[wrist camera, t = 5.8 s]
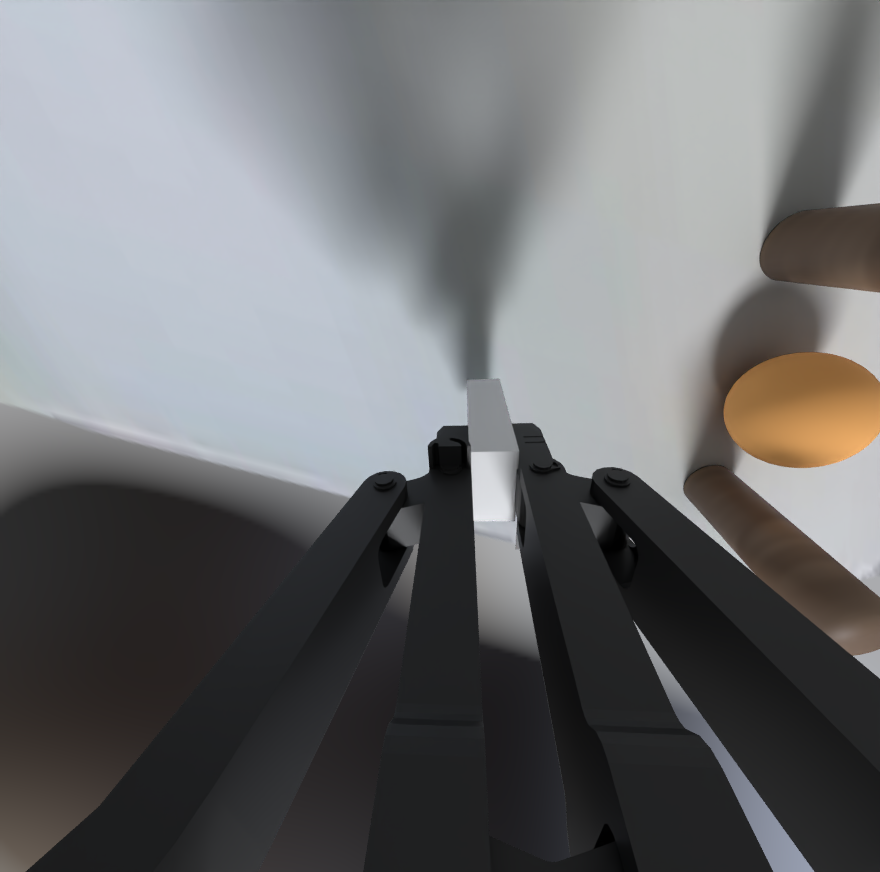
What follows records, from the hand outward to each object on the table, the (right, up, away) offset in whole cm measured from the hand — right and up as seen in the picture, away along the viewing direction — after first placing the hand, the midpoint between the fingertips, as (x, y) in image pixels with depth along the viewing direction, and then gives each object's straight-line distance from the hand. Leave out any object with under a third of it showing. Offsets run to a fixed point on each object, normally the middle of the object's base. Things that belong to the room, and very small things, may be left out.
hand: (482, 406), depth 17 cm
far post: (+13, -4, +4) cm, 14 cm away
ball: (+14, 0, -1) cm, 14 cm away
